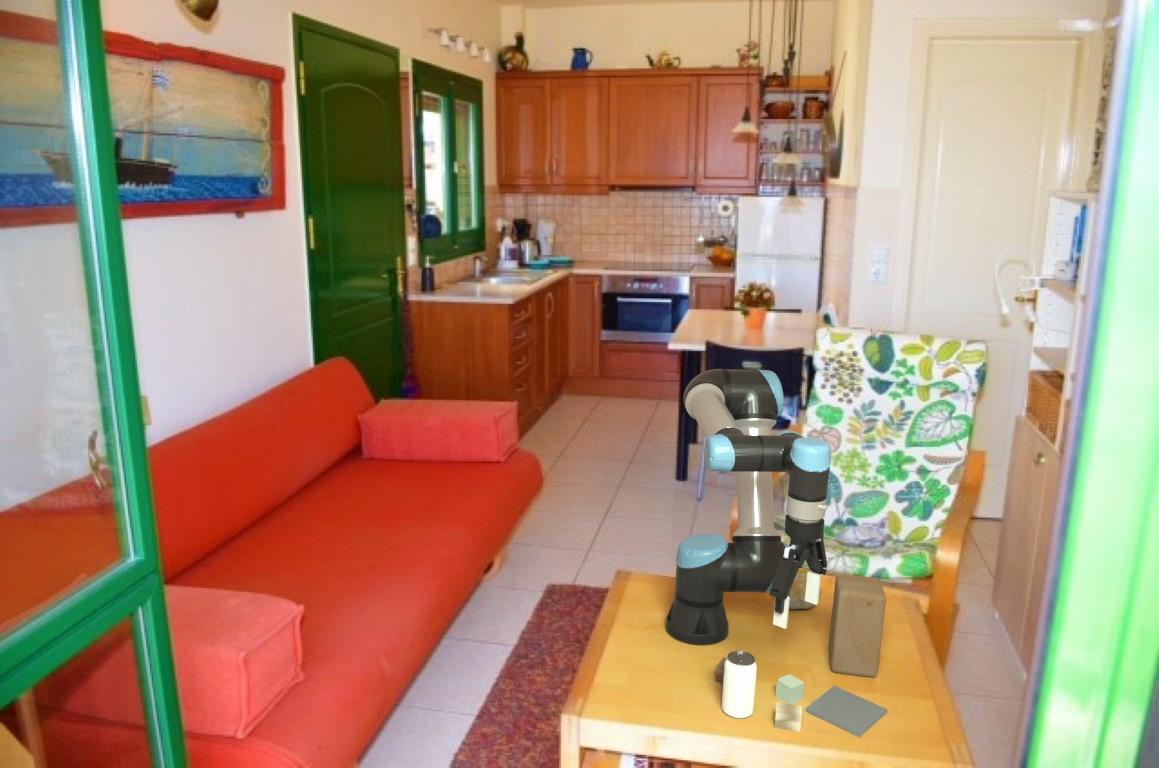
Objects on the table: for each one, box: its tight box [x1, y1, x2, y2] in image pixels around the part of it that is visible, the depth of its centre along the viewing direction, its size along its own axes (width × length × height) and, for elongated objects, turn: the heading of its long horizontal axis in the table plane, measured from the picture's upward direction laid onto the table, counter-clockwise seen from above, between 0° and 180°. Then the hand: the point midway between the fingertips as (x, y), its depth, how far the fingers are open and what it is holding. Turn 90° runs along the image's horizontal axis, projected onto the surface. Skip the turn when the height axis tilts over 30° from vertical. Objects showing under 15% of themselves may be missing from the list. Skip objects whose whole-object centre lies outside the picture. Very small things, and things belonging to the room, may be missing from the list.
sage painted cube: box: [775, 673, 805, 705], centre depth 186 cm, size 4×4×4 cm
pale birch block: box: [774, 701, 803, 733], centre depth 176 cm, size 5×3×4 cm, turn 76°
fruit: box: [788, 569, 822, 610], centre depth 225 cm, size 10×11×10 cm
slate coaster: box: [805, 685, 888, 738], centre depth 182 cm, size 12×12×1 cm
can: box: [721, 650, 758, 720], centre depth 180 cm, size 6×6×12 cm
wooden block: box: [827, 573, 887, 678], centre depth 198 cm, size 10×10×20 cm
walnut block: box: [715, 657, 727, 685], centre depth 192 cm, size 4×4×4 cm
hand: (796, 613), depth 179 cm, fingers open, 13 cm apart
